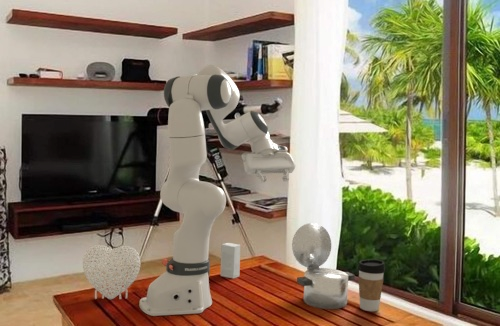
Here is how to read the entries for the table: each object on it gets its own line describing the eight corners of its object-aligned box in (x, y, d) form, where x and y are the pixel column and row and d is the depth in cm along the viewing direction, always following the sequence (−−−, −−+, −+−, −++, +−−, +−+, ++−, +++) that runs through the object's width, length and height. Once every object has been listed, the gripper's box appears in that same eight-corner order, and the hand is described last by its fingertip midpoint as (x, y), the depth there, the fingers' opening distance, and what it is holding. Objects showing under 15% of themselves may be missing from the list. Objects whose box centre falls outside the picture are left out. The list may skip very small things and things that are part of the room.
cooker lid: (292, 224, 170) (289, 224, 172) (294, 271, 169) (291, 271, 171) (330, 222, 177) (326, 222, 179) (332, 267, 175) (328, 267, 178)
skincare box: (239, 276, 190) (240, 244, 189) (233, 279, 186) (234, 246, 185) (226, 273, 193) (227, 242, 192) (219, 275, 189) (220, 244, 188)
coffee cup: (385, 313, 157) (388, 265, 156) (358, 312, 157) (360, 264, 156) (379, 303, 165) (382, 258, 164) (353, 302, 166) (355, 257, 164)
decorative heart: (143, 294, 167) (144, 242, 166) (135, 305, 156) (136, 250, 155) (88, 292, 167) (88, 240, 165) (77, 303, 156) (77, 248, 155)
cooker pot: (310, 312, 156) (312, 283, 155) (288, 297, 168) (289, 271, 168) (362, 304, 164) (364, 277, 163) (337, 291, 177) (339, 265, 176)
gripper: (242, 147, 190) (252, 176, 182) (290, 147, 199) (302, 174, 191) (237, 158, 195) (247, 187, 187) (284, 157, 203) (295, 185, 195)
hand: (275, 180), depth 189 cm, fingers open, 8 cm apart
